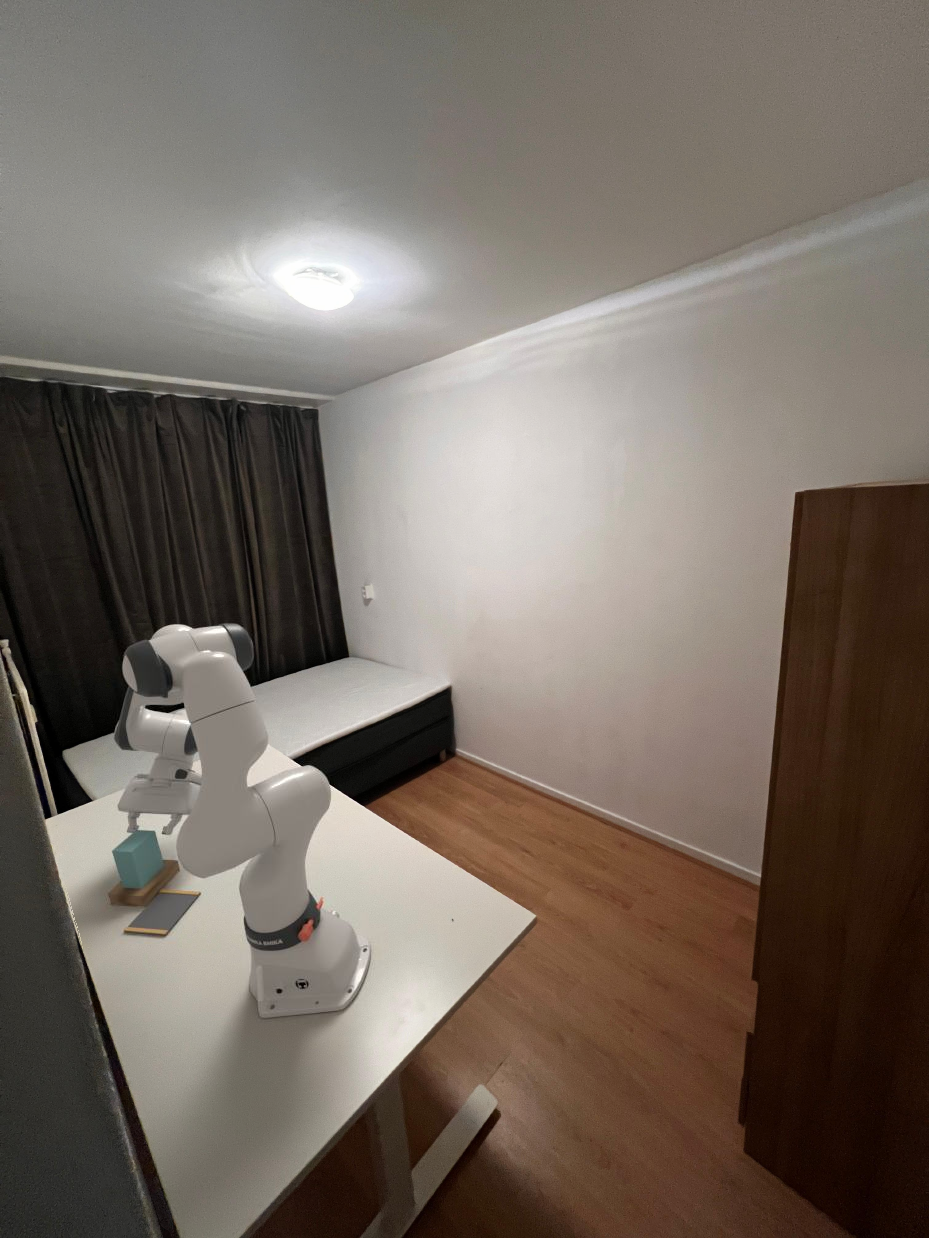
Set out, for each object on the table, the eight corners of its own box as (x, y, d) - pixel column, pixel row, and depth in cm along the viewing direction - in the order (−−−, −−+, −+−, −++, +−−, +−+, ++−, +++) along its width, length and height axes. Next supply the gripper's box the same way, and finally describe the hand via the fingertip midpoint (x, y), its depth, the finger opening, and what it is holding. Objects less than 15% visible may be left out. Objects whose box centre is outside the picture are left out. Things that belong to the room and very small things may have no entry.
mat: (200, 894, 111) (200, 891, 111) (166, 936, 101) (165, 933, 101) (162, 891, 113) (161, 888, 113) (124, 932, 102) (123, 930, 102)
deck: (180, 870, 119) (177, 860, 118) (145, 907, 109) (142, 896, 108) (147, 868, 121) (145, 858, 120) (110, 904, 110) (107, 893, 109)
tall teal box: (164, 865, 117) (155, 830, 114) (141, 888, 110) (131, 851, 108) (146, 864, 118) (136, 829, 115) (122, 887, 111) (111, 850, 108)
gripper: (124, 770, 121) (100, 830, 114) (197, 772, 118) (177, 834, 111) (142, 776, 127) (120, 833, 120) (212, 778, 123) (194, 837, 117)
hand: (148, 833), depth 115 cm, fingers open, 8 cm apart
